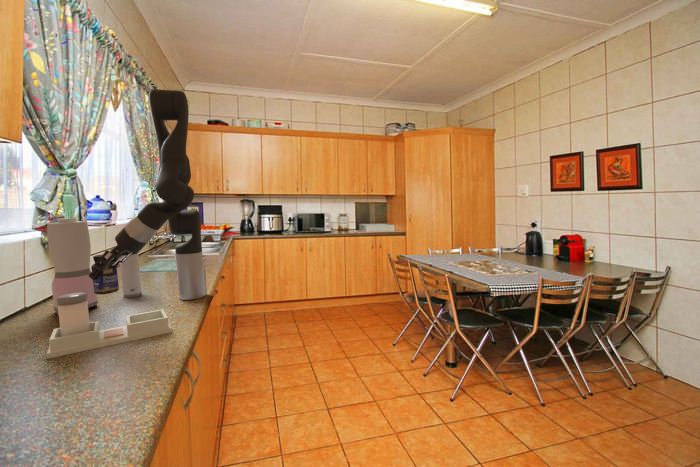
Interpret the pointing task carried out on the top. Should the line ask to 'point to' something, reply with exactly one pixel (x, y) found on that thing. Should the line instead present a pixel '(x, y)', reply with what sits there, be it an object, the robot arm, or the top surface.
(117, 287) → the pill bottle
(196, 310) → the top surface
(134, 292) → the travel mug
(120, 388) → the top surface
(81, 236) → the blender
